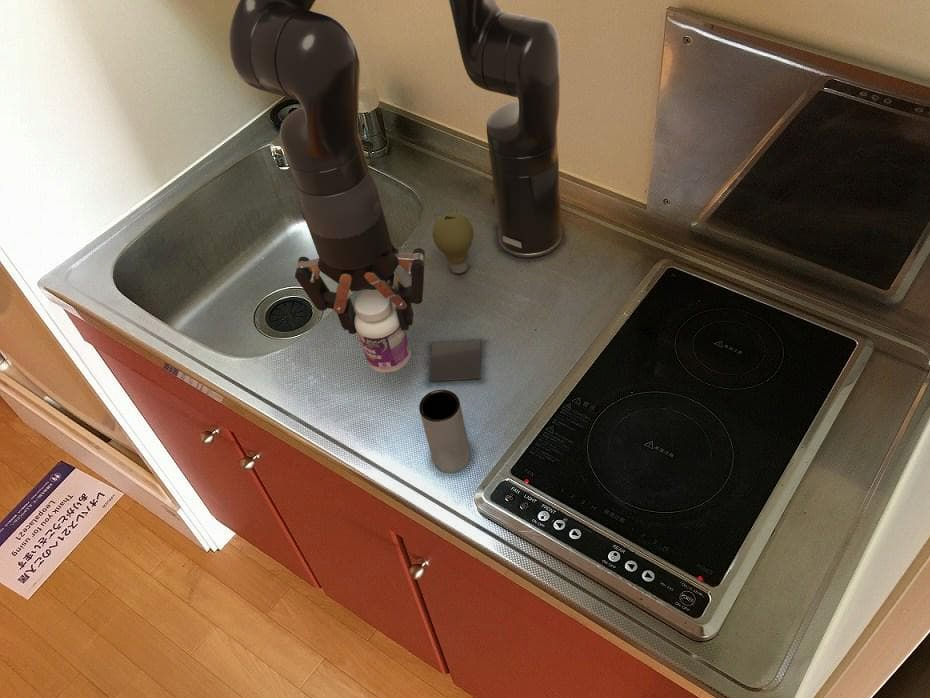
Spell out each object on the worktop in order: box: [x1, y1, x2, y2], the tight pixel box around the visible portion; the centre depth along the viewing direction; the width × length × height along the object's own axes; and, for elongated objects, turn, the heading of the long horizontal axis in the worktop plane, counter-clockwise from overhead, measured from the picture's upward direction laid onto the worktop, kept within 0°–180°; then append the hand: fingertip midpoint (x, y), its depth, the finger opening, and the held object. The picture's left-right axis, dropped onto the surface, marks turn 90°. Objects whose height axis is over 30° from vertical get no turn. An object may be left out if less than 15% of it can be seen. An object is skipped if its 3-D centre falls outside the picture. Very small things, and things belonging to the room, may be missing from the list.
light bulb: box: [432, 211, 474, 274], centre depth 114 cm, size 6×6×10 cm
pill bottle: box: [354, 289, 412, 374], centre depth 94 cm, size 5×5×10 cm
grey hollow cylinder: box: [418, 389, 472, 474], centre depth 94 cm, size 4×4×10 cm
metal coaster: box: [429, 339, 482, 383], centre depth 107 cm, size 6×6×1 cm
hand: (379, 326), depth 93 cm, fingers closed on pill bottle, 5 cm apart
